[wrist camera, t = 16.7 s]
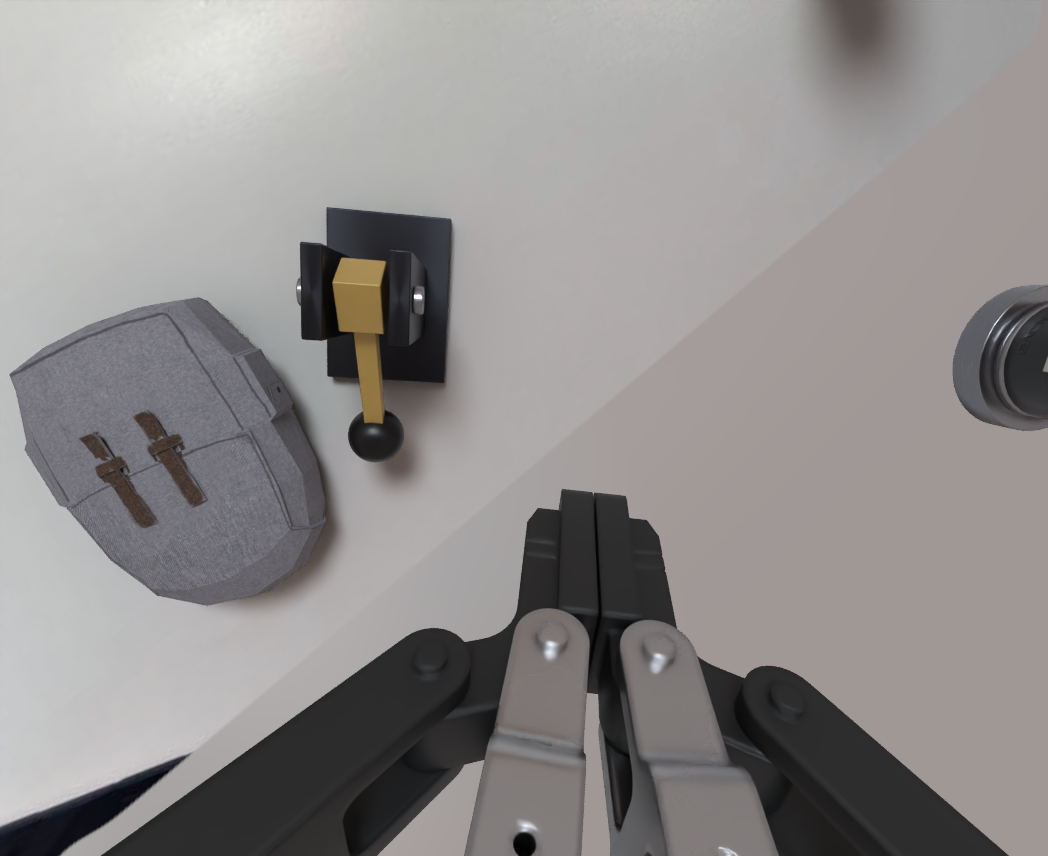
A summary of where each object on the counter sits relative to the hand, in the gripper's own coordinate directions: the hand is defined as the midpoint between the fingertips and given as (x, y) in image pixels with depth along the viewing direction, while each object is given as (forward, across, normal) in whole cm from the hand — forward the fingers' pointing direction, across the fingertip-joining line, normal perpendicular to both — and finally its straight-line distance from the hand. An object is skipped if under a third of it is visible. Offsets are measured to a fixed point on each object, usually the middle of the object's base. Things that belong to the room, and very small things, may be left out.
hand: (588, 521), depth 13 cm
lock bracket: (+26, -13, -4) cm, 29 cm away
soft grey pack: (+21, -24, -14) cm, 35 cm away
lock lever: (+19, -12, -5) cm, 23 cm away
